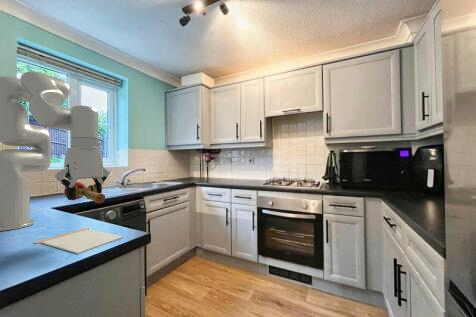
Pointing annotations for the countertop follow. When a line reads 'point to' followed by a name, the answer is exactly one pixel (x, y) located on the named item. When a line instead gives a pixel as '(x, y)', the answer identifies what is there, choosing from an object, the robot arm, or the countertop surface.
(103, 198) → the kendama
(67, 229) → the countertop surface
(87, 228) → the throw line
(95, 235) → the mat
